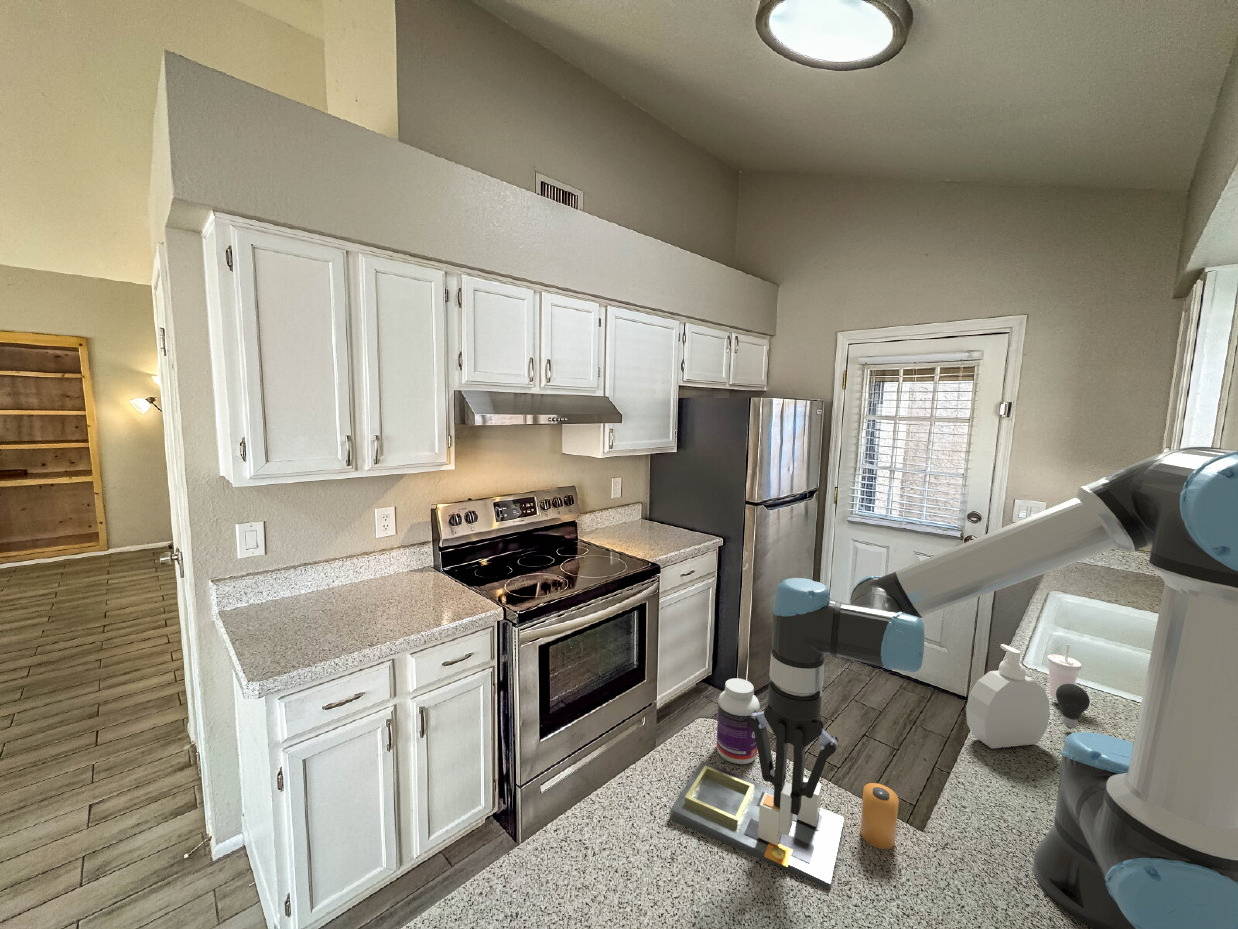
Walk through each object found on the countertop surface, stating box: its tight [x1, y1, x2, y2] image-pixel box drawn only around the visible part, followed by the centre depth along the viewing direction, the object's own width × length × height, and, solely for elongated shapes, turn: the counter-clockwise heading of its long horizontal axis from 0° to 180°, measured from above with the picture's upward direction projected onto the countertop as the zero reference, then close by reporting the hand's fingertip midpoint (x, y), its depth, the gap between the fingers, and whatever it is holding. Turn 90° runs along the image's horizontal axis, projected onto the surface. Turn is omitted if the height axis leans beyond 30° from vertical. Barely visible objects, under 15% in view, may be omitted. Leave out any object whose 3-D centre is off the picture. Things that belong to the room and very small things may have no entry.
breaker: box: [797, 777, 823, 827], centre depth 83 cm, size 3×3×6 cm
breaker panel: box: [669, 760, 845, 890], centre depth 84 cm, size 25×15×3 cm, turn 59°
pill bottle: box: [716, 677, 761, 765], centre depth 101 cm, size 8×8×14 cm
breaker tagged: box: [758, 793, 782, 846], centre depth 80 cm, size 3×3×6 cm
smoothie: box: [1046, 643, 1082, 701], centre depth 125 cm, size 6×6×14 cm
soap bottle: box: [965, 643, 1051, 750], centre depth 108 cm, size 16×5×20 cm, turn 100°
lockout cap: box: [859, 782, 900, 850], centre depth 82 cm, size 5×5×8 cm
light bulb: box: [1056, 684, 1091, 730], centre depth 113 cm, size 6×6×10 cm
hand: (785, 827), depth 78 cm, fingers closed
